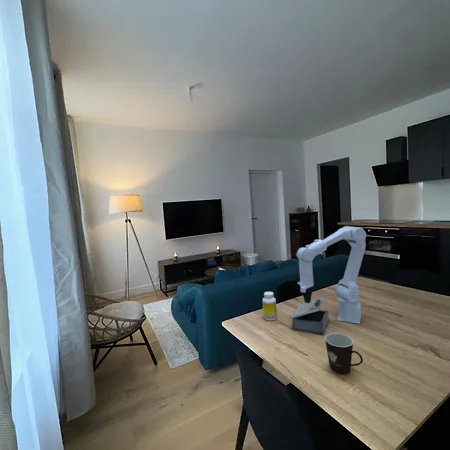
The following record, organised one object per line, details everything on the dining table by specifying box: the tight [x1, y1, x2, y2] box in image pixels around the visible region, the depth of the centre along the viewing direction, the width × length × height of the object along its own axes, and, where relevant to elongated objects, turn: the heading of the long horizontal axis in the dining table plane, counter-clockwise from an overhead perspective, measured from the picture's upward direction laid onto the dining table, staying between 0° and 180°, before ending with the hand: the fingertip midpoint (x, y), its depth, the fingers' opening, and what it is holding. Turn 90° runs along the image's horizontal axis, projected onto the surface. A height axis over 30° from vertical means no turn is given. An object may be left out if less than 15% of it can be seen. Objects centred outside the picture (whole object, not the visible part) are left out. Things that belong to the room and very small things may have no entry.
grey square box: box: [291, 309, 330, 336], centre depth 114 cm, size 13×14×5 cm
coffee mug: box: [324, 332, 364, 375], centre depth 82 cm, size 12×9×10 cm
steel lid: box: [290, 296, 326, 320], centre depth 114 cm, size 14×15×2 cm
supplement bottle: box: [262, 291, 278, 321], centre depth 124 cm, size 7×7×13 cm
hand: (307, 302), depth 115 cm, fingers closed
